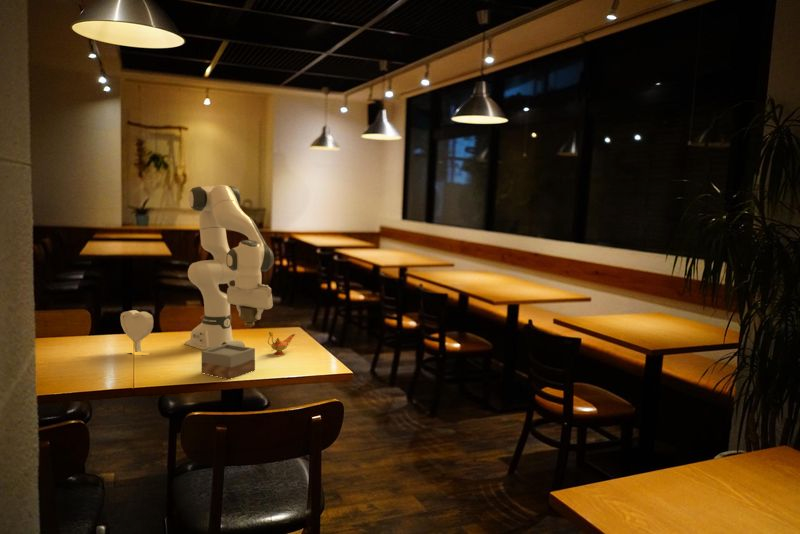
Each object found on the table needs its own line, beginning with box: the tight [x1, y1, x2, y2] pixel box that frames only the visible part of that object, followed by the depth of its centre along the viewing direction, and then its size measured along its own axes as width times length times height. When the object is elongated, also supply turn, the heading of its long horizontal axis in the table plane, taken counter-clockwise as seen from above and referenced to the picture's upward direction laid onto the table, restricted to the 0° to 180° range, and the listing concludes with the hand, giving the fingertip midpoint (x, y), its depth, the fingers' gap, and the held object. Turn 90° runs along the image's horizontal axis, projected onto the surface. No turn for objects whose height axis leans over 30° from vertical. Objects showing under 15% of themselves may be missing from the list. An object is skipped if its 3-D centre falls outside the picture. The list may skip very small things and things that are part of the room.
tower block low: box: [201, 359, 256, 380], centre depth 231 cm, size 14×14×5 cm
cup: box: [240, 306, 258, 328], centre depth 232 cm, size 8×7×8 cm
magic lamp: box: [267, 331, 296, 356], centre depth 259 cm, size 7×18×11 cm, turn 151°
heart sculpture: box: [119, 309, 154, 352], centre depth 253 cm, size 16×5×18 cm, turn 65°
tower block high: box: [201, 344, 256, 368], centre depth 230 cm, size 14×14×4 cm
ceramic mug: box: [221, 340, 246, 347], centre depth 251 cm, size 11×8×8 cm
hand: (249, 317), depth 232 cm, fingers closed on cup, 7 cm apart
